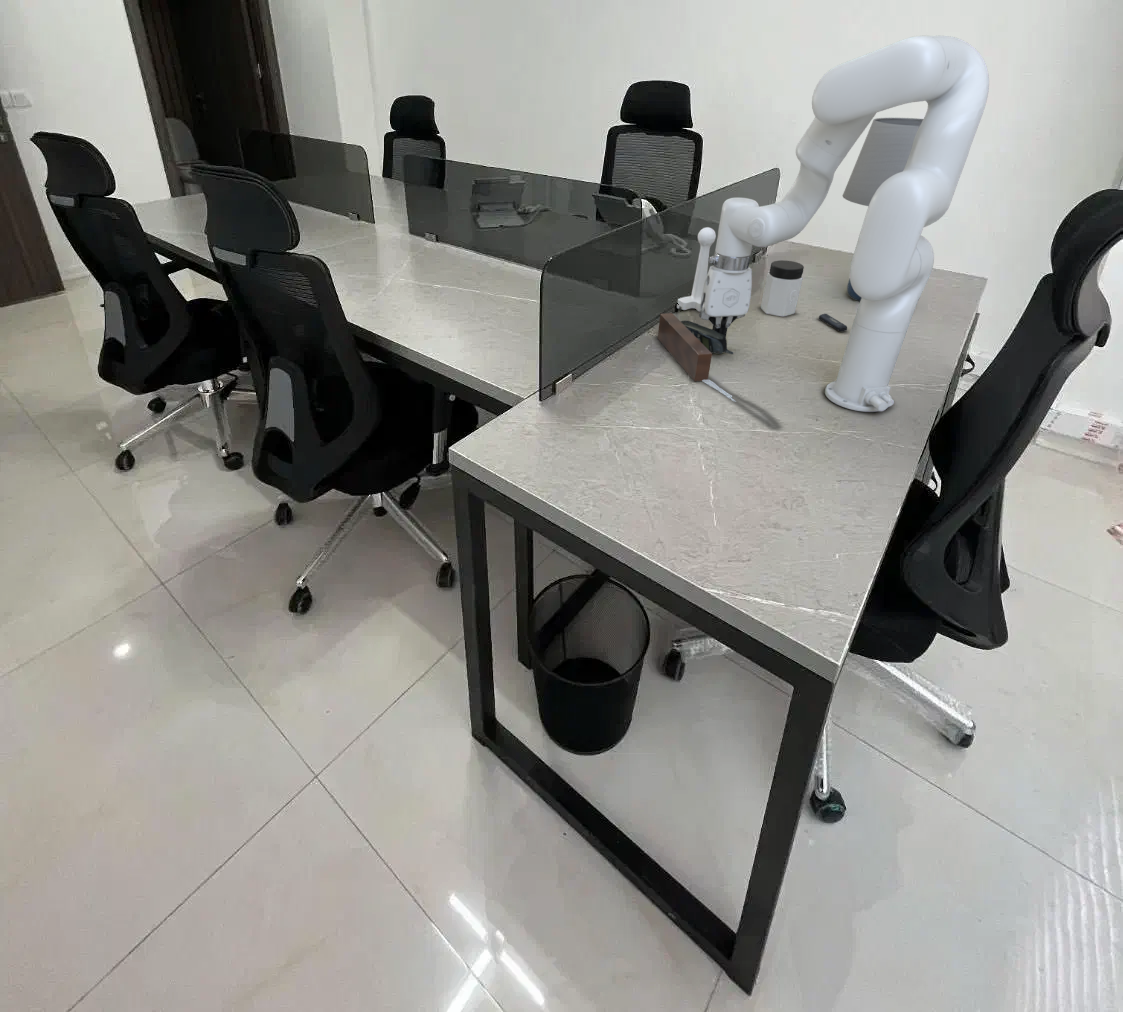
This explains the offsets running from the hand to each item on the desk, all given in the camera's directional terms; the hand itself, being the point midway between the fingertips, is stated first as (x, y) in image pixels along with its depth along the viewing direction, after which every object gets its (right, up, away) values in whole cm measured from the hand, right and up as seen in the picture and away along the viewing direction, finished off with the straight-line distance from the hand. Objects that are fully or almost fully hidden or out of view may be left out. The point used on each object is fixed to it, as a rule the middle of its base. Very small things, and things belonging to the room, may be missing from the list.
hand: (717, 342), depth 152 cm
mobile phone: (-3, -1, 0) cm, 3 cm away
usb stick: (+32, +8, +14) cm, 36 cm away
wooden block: (-9, -5, -4) cm, 11 cm away
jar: (+21, +14, +22) cm, 33 cm away
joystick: (+1, +14, +22) cm, 27 cm away
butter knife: (-2, -16, -19) cm, 25 cm away
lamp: (+49, +20, +32) cm, 62 cm away
